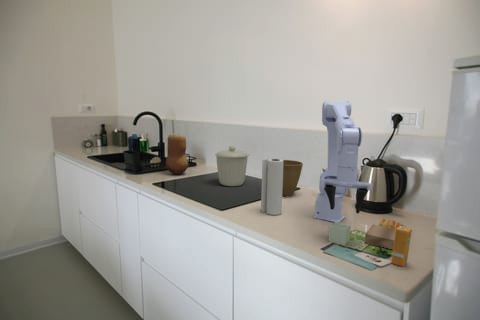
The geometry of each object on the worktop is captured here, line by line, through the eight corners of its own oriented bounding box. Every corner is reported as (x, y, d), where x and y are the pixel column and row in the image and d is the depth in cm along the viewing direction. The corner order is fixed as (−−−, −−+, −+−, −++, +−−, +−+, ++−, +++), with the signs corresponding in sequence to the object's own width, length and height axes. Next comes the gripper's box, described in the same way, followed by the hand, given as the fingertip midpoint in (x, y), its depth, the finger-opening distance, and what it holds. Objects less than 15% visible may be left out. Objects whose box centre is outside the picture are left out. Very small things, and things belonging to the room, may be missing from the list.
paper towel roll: (284, 213, 125) (286, 159, 121) (275, 216, 121) (277, 161, 117) (270, 208, 130) (272, 157, 126) (260, 212, 126) (262, 159, 122)
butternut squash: (192, 173, 198) (192, 133, 194) (180, 177, 186) (179, 135, 182) (174, 171, 203) (173, 132, 199) (161, 175, 191) (159, 133, 187)
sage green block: (328, 241, 99) (329, 226, 98) (333, 236, 103) (334, 221, 102) (344, 245, 96) (345, 230, 95) (349, 240, 100) (350, 225, 99)
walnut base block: (364, 243, 98) (365, 233, 97) (372, 233, 106) (372, 224, 105) (400, 251, 92) (401, 242, 92) (405, 240, 100) (406, 231, 100)
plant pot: (279, 200, 142) (280, 165, 139) (264, 192, 156) (265, 160, 153) (307, 197, 147) (309, 163, 145) (290, 189, 161) (292, 158, 159)
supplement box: (404, 267, 83) (408, 231, 81) (390, 263, 85) (394, 228, 83) (408, 263, 85) (412, 228, 84) (394, 259, 87) (398, 224, 86)
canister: (250, 181, 178) (251, 144, 175) (245, 189, 161) (246, 148, 157) (219, 179, 181) (219, 143, 178) (211, 187, 164) (211, 147, 160)
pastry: (410, 232, 108) (411, 221, 107) (406, 238, 102) (408, 227, 102) (381, 225, 113) (382, 215, 113) (376, 231, 108) (377, 221, 107)
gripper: (319, 166, 97) (317, 209, 98) (370, 170, 89) (367, 217, 90) (326, 164, 103) (324, 205, 104) (374, 168, 95) (371, 212, 96)
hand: (344, 210), depth 97 cm, fingers open, 7 cm apart
